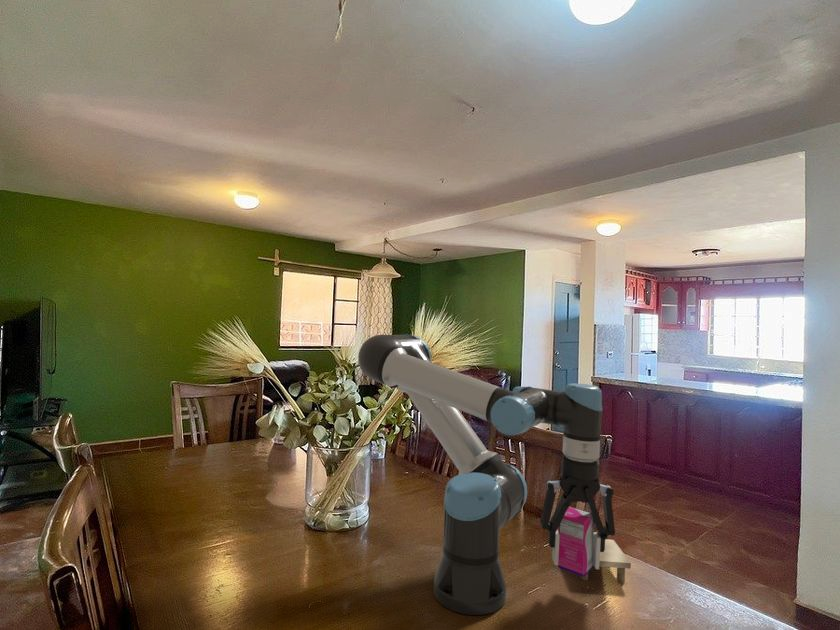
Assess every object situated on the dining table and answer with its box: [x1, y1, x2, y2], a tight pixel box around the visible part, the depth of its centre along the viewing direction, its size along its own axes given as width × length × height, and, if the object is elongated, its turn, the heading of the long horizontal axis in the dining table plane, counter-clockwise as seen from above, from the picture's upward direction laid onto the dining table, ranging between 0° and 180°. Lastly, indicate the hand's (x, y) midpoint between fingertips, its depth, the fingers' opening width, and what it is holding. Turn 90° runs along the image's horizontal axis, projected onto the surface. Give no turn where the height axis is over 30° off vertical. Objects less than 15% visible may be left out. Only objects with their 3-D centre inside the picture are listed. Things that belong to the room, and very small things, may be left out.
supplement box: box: [557, 506, 595, 578], centre depth 97 cm, size 6×6×12 cm
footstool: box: [579, 538, 632, 585], centre depth 106 cm, size 11×11×5 cm
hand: (575, 563), depth 97 cm, fingers closed on supplement box, 8 cm apart
